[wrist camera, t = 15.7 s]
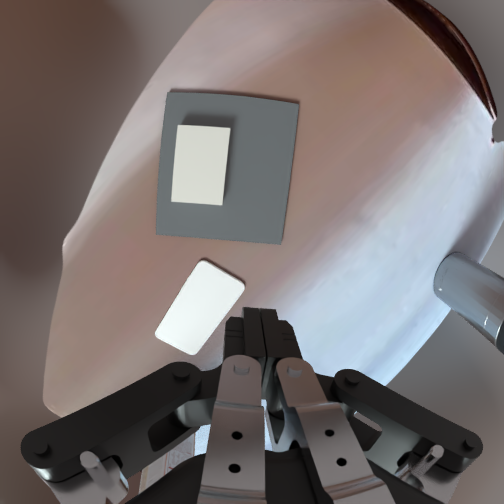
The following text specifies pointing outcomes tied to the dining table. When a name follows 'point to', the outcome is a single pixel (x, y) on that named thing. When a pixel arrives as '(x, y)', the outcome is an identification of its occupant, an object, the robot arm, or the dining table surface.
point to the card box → (200, 164)
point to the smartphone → (199, 307)
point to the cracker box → (167, 462)
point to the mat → (232, 167)
